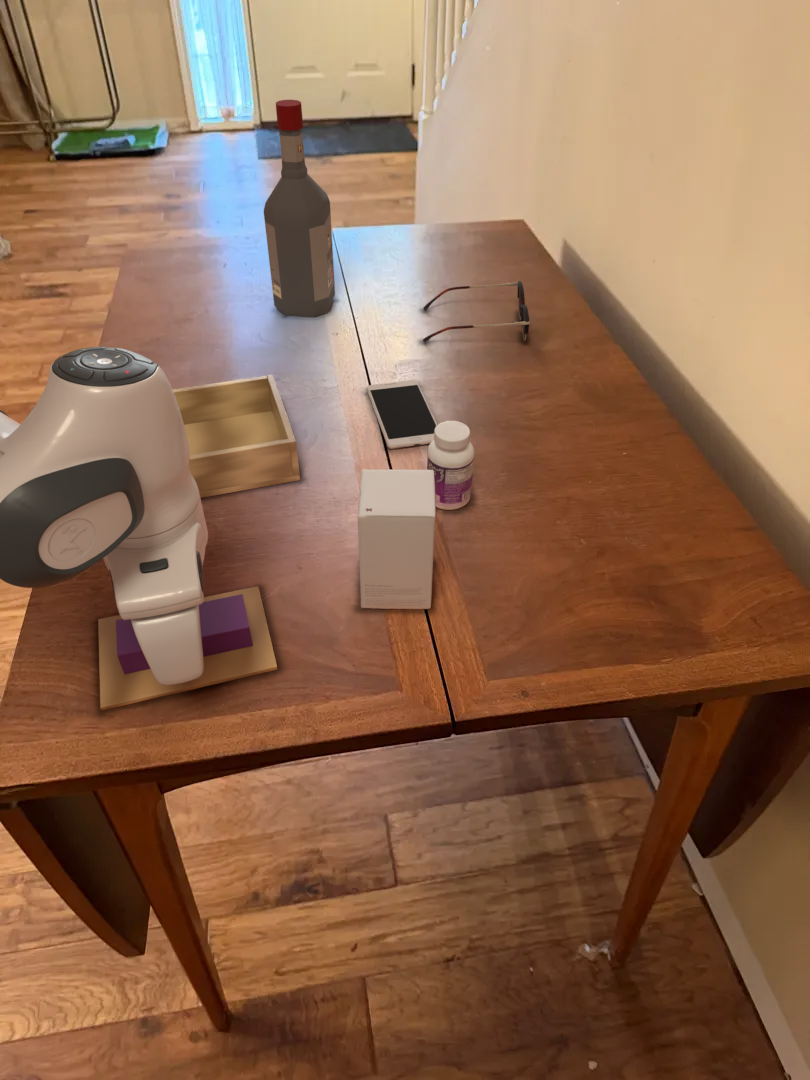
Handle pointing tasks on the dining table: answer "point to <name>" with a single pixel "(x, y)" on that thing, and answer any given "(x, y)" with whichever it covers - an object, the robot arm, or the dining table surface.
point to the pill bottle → (451, 464)
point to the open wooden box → (238, 435)
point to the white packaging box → (396, 538)
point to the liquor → (298, 227)
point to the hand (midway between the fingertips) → (182, 635)
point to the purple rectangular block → (219, 632)
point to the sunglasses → (522, 314)
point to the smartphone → (402, 413)
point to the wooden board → (216, 667)
